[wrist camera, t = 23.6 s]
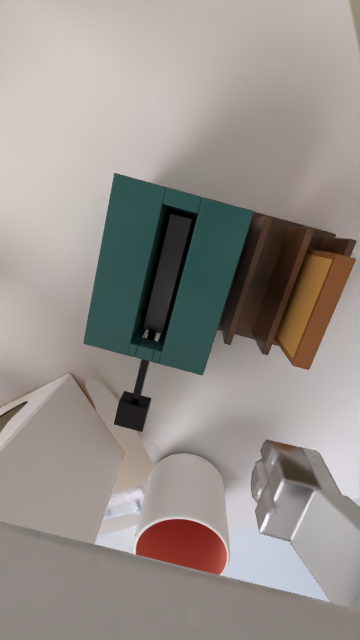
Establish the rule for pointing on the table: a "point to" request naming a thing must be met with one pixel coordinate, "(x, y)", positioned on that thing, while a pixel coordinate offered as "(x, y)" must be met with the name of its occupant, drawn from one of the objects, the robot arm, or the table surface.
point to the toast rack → (270, 276)
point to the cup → (184, 515)
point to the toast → (312, 305)
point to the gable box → (56, 462)
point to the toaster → (141, 265)
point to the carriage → (156, 317)
